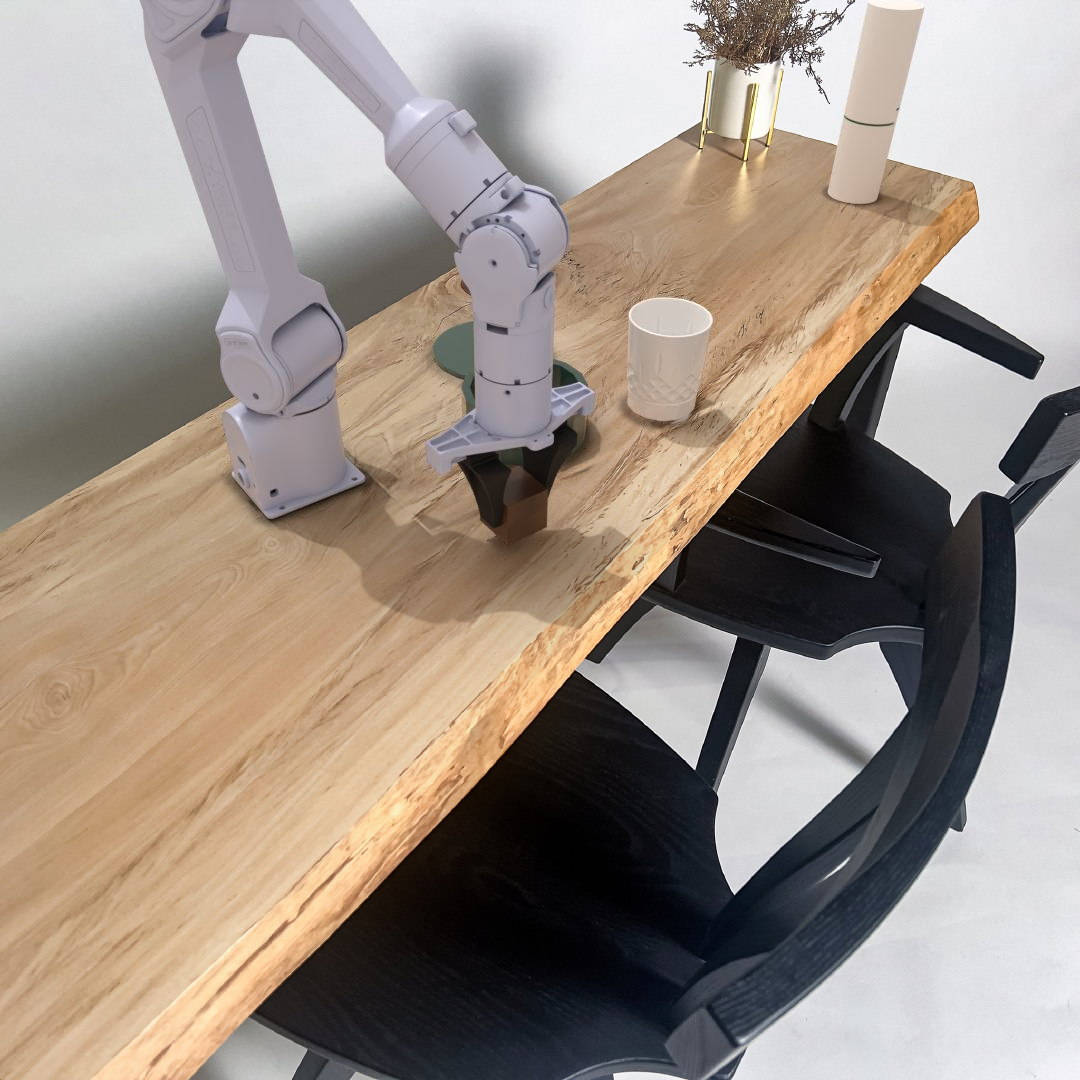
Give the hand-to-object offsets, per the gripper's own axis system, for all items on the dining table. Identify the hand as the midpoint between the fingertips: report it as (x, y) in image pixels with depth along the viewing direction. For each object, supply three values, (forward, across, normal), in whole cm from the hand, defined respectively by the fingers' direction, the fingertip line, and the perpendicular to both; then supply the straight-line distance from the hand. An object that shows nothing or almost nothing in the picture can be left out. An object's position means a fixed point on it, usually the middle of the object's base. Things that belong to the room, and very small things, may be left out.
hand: (513, 510), depth 79 cm
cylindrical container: (+3, +86, +34) cm, 92 cm away
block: (+1, 0, 0) cm, 1 cm away
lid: (+3, +16, +26) cm, 31 cm away
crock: (+3, +10, +12) cm, 16 cm away
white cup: (+3, +24, +8) cm, 25 cm away
